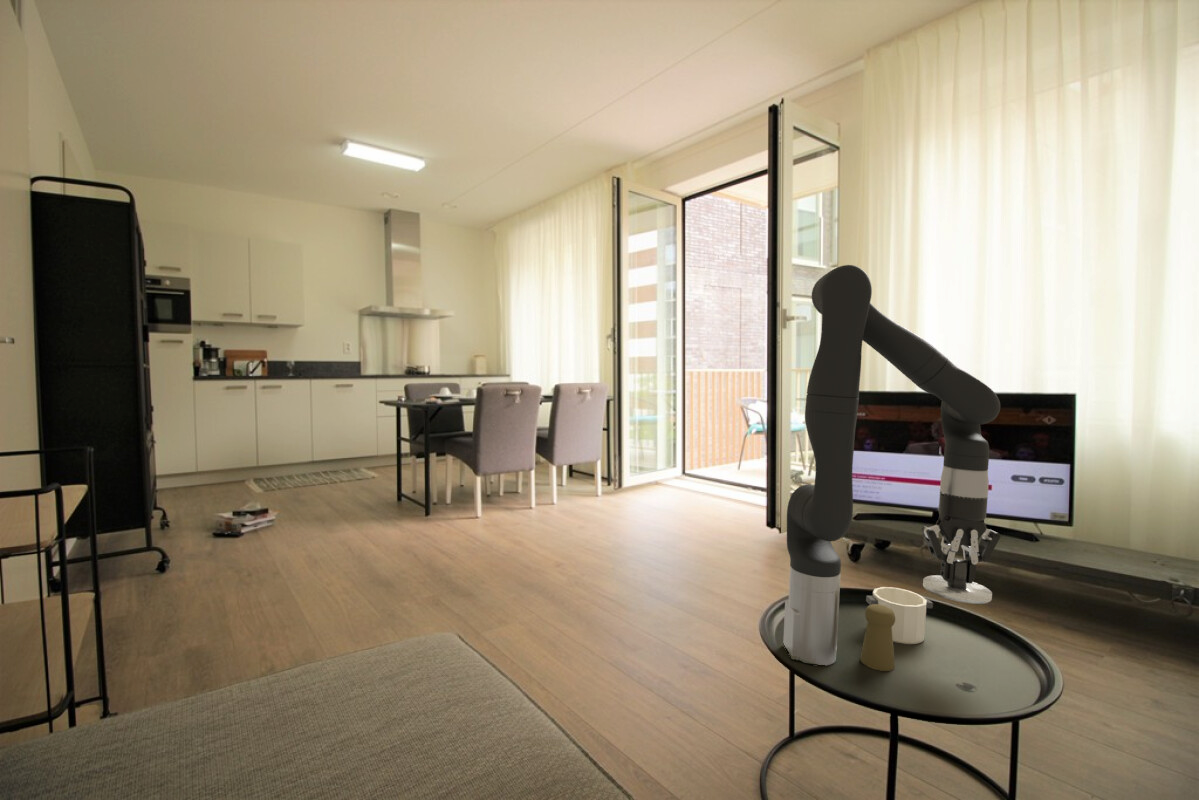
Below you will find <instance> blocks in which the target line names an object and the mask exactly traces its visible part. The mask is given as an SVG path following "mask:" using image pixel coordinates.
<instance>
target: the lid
mask: <svg viewBox="0 0 1199 800" xmlns="http://www.w3.org/2000/svg"><path fill="white" fill-rule="evenodd" d="M953 564H954V574H953V582H952V583H951V582H947V581H945V580H944V579H943V577H941V574H940V575H939V574H936V575H933V574H932V575H927V576H924V578H923V579H922V582H923V583H922V586H923V588H924V590H926V591H927V592H929V593H930V594H933V595H935V596H937V597H941V598H943V599H947V600H950V601H953V602H960V603H964V604H974V605H975V604H976V605H978V604H979V605H982V604H983V605H984V604H988V603H990V602H992V600H993V599H992V598H993V592H992V591H991V590H990V589H989V588H987V587H986V586H985V585H982V584H979V583H977V582H974V581H973V582H972V583H967V570H968V561H966V560H965V559H964V558H958V557H954V561H953Z"/></svg>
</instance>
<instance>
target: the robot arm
mask: <svg viewBox="0 0 1199 800" xmlns="http://www.w3.org/2000/svg"><path fill="white" fill-rule="evenodd" d="M811 291H812V292H811V300H812V301H811V302H812V304H813V307H814V308H815V310H816V311H817V312H818V313H819V314H821V333H820V342H819V346H818V350H817V353H816V356H815V359H814V362H813V366H812V368H811V371H810V375H809V379H808V382H807V388H806V395H805V396H806V397H805V410H804V420H805V421H804V423H805V427H806V432H807V435H808V439H809V443H810V446H811V449H812V452H813V457H814V463H815V464H814V465H815V473H814V475H815V476H814V484H803V485H800V486H798V487H797V488H796V489H795V490H794V491H793V492H792V494H791V496H790V498H789V501H788V503H787V510H786V546H787V547H786V548H787V552H788V555H789V558H790V559H789V560H790V561H789V563H790V564H789V565H790V566H789V579H788V580H789V585H788V599H785V601H784V616H783V617H784V621H783V622H784V623H783V642H782V644H783V643H784V645H785V647H786V648H787V649H788V651H789V652H790V653H791V655H792V656H797V657H800V658H801V659H804V660H806V661H809V662H812V663H815V664H818V665H825V666H830V665H832V664H834V663H835V662H836V660H837V650H838V630H839V629H838V628H839V611H840V610H839V609H840V608H839V607H840V588H841V571H842V570H841V569H842V561H841V557H840V556H839V554H838V553H837V552H836V550H835V547H834V546H833V544H832V542H836V541H838V540H840V539H842V538H844V536H845V535H846V534H847V532H848V531H849V529H850V526H851V525H852V521H853V513H854V498H853V497H854V496H853V495H854V492H853V491H854V490H853V489H854V487H853V486H854V485H853V469H854V468H853V465H854V451H855V436H856V428H857V418H858V409H859V400H860V383H861V382H860V381H861V372H862V350H863V349H862V348H863V342H864V343H865V344H867V345H868V346H870V347H871V348H872V349H873V350H875V352H877V353H879V355H881V356H882V357H883V358H884V359H885V360H887V362H889V363H890V364H892V365H893V366H894V367H895V368H896V369H897V370H898V371H899V372H900V373H902V374H903V375H904V376H905V377H906V378H907V379H908V380H910V381H911V382H912V383H913V384H914V385H916V386H917V387H918V388H919V389H920V390H922V391H924V392H925V393H927V394H931V395H933V396H936V397H937V398H938V399H939V400H941V405H940V417H941V426H942V432H943V437H944V443H945V444H944V452H943V466H942V472H941V475H940V489H939V502H938V514H939V516H938V520H937V521H936V522H935V525H932V526H929V527H927V526H922V528H921V532H922V536H923V538H924V540H925V543H926V545H927V548H928V550H929V554H930V555H931V556H933V557H934V558H936V559H938V560H940V571H939V574H940V575H941V577H943V579H944V580H945V581H947V582H951V583H952V582H953V574H954V564H953V561H954V558H956V557H955V556H956V553H958V551H959V547H960V546H961V549H962V552H963V553H962V554H963V560H966V561H968V570H967V583H972V582H974V581H975V579H976V573H977V571H976V569H977V564H978V563H981V562H984V563H985V562H987V561H989V559H990V557H991V555H992V554H993V552H994V550H995V548H996V546H997V544H998V542H999V541H1000V539H1001V537H1002V536H1001V534H1000V533H999V532H996V531H994V530H992V529H991V528H990V529H989V528H987V525H986V523H985V520H986V518H987V512H988V511H987V509H988V498H989V496H988V495H989V486H990V485H989V484H990V483H989V482H990V481H989V463H990V461H989V460H990V445H989V442H988V440H986V439H985V438H984V437H983V436H982V431H981V430H982V429H981V425H986V424H988V423H991V422H993V421H994V420H995V419H996V418H997V417H998V415H999V413H1000V412H1001V402H1000V398H999V397H998V395H997V394H996V392H994V390H993V389H992V388H991V387H989V386H988V385H986V384H985V382H983V381H982V380H979V379H978V378H976V377H975V376H973V375H972V374H970V373H969V372H966V371H965V370H963V369H962V368H960V367H958V366H957V365H956V364H954V363H953V362H952V361H951V360H950V359H949V358H948V357H946V356H945V354H943V353H942V352H941V351H939V350H938V349H937V348H936V347H934V346H933V345H932V344H931V343H929V341H927V340H925V338H924V337H921V336H919V335H918V334H916V333H915V332H913V331H911V330H909V329H908V328H906V327H904V326H902V325H901V324H899V323H897V322H895V321H893V320H892V319H891V318H889V317H888V316H886V315H885V314H884V313H882V312H881V311H880V310H879V309H878V308H877V307H875V306H874V305H873V304H872V303H871V300H872V295H873V287H872V281H871V279H870V277H869V275H868V274H867V272H866V271H864V269H862V268H861V267H859V266H857V265H853V264H845V265H841V266H837V267H836V268H835V267H834V268H833V269H832V270H830V271H829V272H827V273H824V275H822V277H820V278H819V279H818V280H817V281H816V282H815V284H814V285H813V288H812V290H811ZM939 534H941V536H942V537H941V538H942V539H941V542H939V540H938V538H939V537H940V535H939ZM980 538H981V539H980ZM979 539H980V541H979ZM785 647H784V648H785Z"/></svg>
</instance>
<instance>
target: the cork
mask: <svg viewBox="0 0 1199 800" xmlns="http://www.w3.org/2000/svg"><path fill="white" fill-rule="evenodd" d="M864 615H865V620H866V622H867V625H866V629H865V633H864V638H863V642H862V647H861V653H860V658H859V661H860V662H861V663H862V664H863V665H864V666H866V667H868V668H870V669H873V670H876V671H881V672H891V671H893V670H895V669H896V661H895V652H894V651H895V650H894V642H893V637H892V626H893V625H894V623H895V614H894V612H893V610H891V609H890V608H888V607H886V606H884V605H879V604H872V605H870V604H869V605H868V606H867V607H866V608H865V611H864Z"/></svg>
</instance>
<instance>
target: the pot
mask: <svg viewBox="0 0 1199 800" xmlns="http://www.w3.org/2000/svg"><path fill="white" fill-rule="evenodd" d="M865 598H866V599H865V601H866V602H867V604H869V605H872V604H879V605H884V606H886V607H888V608H890V609H891V610H893V612H894V614H895V623H894V625H893V626H892V637H893V643H898V644H903V645H919V644H921V643H923V642H924V641H925V635H926V634H925V632H926V618H927V609H933V606H934V603H933V602H932V601H931V600H930V599H928V598H927V597H924V596H922V595H921V594H919V593H916V592H914V591H911V590H908V589H904V588H900V587H893V586H892V587H891V586H889V587H888V586H881V587H877V588H876V587H875V588H874V589H873V591H872V595H866V597H865Z"/></svg>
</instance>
